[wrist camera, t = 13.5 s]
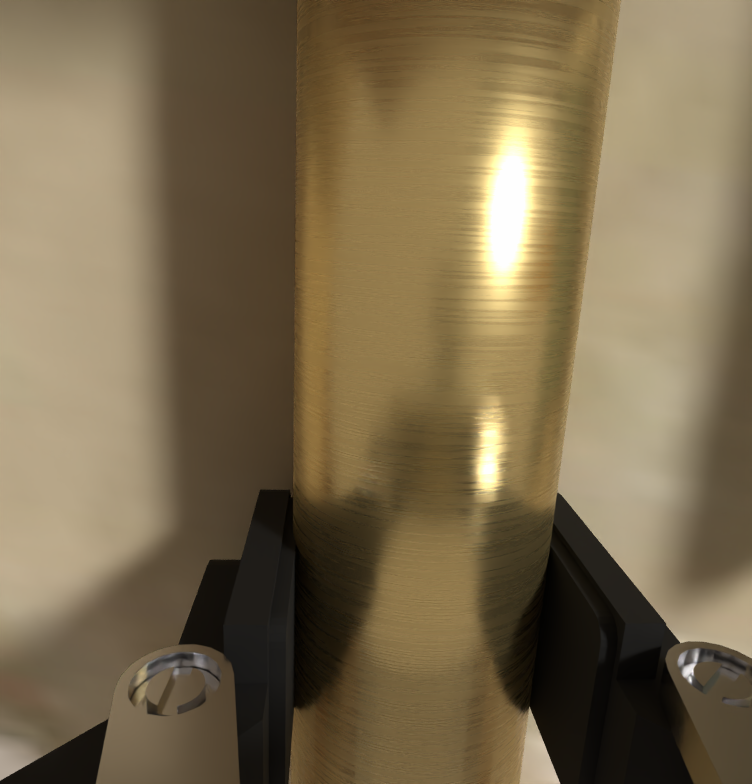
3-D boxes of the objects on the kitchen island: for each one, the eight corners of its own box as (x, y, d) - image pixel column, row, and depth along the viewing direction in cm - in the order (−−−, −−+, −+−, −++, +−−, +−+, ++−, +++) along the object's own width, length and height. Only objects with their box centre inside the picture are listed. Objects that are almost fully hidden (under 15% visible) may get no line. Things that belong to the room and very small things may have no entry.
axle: (326, -206, 9) (262, -519, 5) (603, -202, 9) (747, -523, 5) (310, 704, 13) (268, 899, 9) (498, 719, 13) (532, 924, 9)
